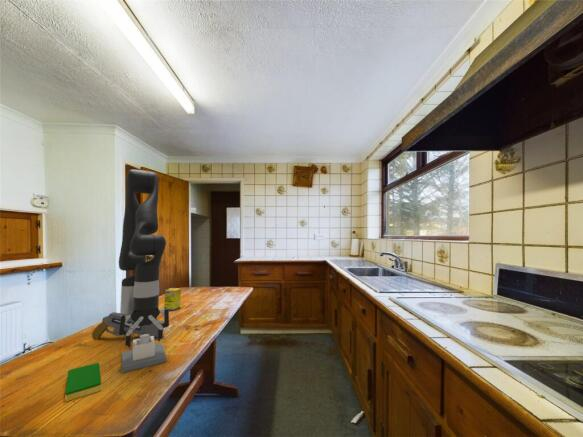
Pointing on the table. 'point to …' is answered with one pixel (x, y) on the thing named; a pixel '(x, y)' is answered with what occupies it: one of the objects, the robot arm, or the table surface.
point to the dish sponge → (83, 381)
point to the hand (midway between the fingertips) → (144, 343)
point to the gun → (114, 322)
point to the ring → (143, 349)
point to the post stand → (136, 364)
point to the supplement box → (172, 299)
